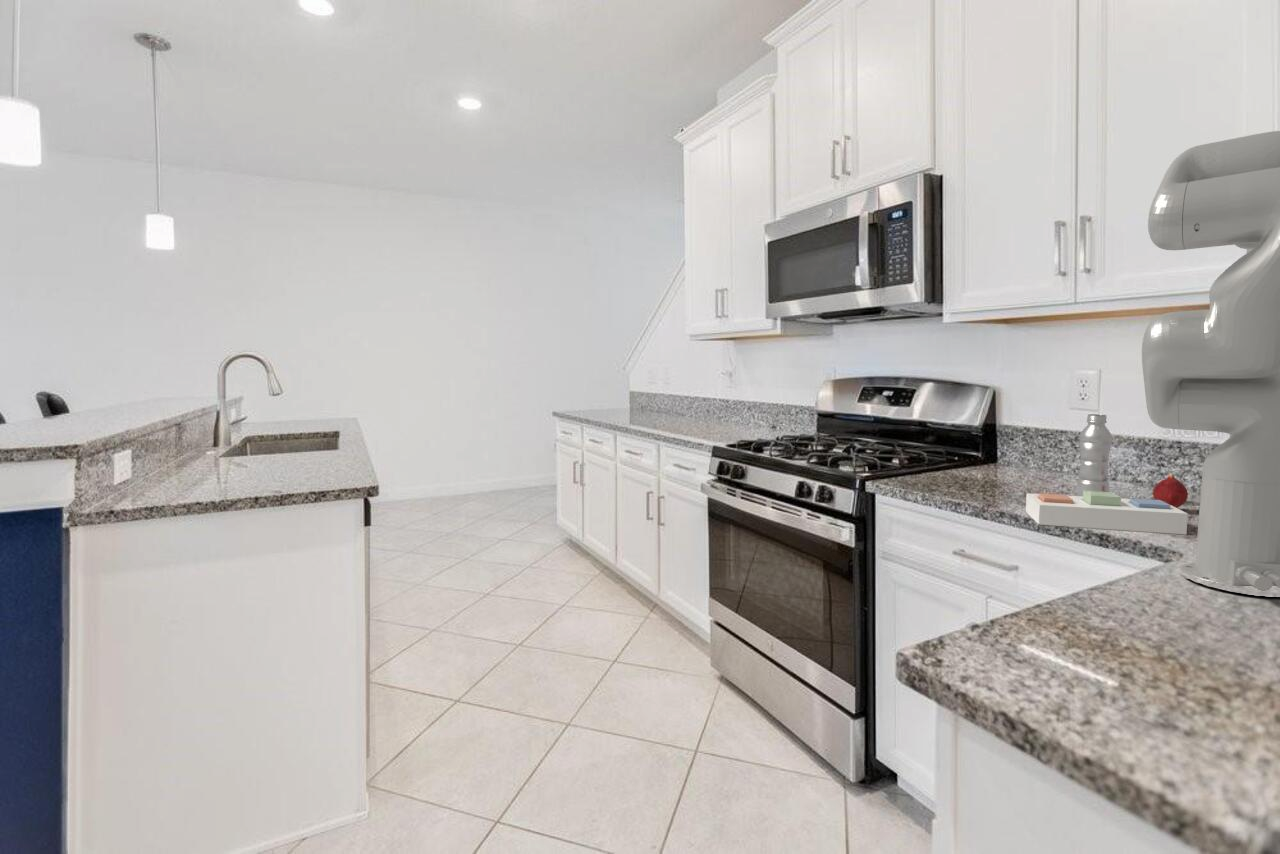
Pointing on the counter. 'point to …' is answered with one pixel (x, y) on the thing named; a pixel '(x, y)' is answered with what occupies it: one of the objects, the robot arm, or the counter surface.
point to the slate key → (1149, 503)
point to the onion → (1170, 492)
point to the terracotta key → (1055, 498)
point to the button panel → (1107, 516)
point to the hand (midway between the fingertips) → (1264, 391)
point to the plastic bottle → (1094, 455)
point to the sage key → (1101, 498)
